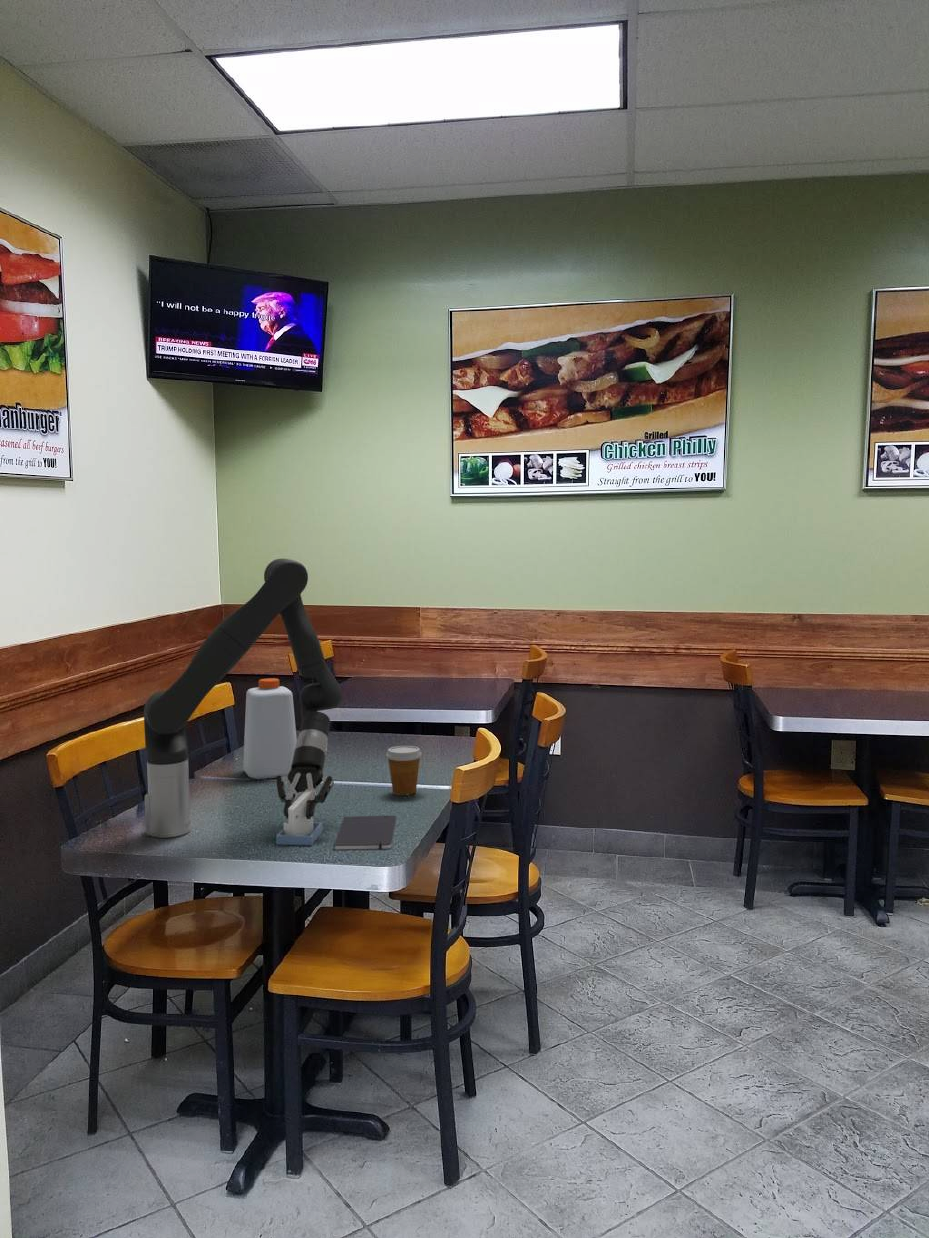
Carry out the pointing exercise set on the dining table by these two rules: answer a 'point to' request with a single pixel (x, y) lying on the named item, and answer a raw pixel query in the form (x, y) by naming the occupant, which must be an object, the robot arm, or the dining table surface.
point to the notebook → (366, 832)
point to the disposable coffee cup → (404, 768)
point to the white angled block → (299, 817)
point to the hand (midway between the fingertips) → (297, 817)
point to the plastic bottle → (269, 730)
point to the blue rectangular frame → (300, 836)
